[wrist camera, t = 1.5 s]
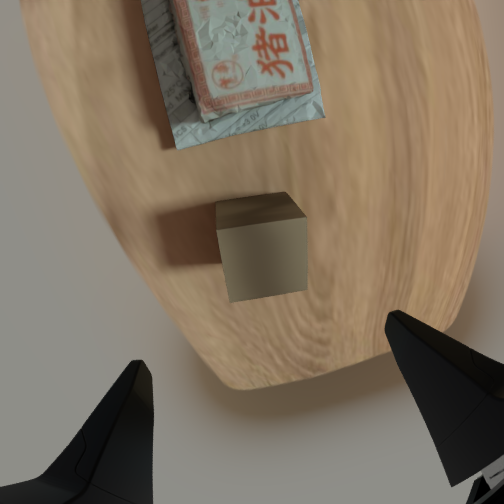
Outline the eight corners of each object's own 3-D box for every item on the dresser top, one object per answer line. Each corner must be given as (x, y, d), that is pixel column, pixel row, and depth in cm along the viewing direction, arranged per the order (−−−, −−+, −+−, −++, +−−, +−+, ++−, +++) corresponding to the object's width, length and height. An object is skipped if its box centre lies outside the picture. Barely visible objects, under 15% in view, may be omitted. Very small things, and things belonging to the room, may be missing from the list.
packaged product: (117, -78, 4) (277, -105, 4) (133, -49, 9) (264, -73, 9) (168, 161, 13) (351, 122, 13) (179, 149, 17) (320, 118, 18)
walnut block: (285, 191, 20) (306, 217, 15) (288, 252, 22) (307, 289, 18) (215, 201, 19) (216, 230, 15) (225, 262, 22) (229, 302, 17)
